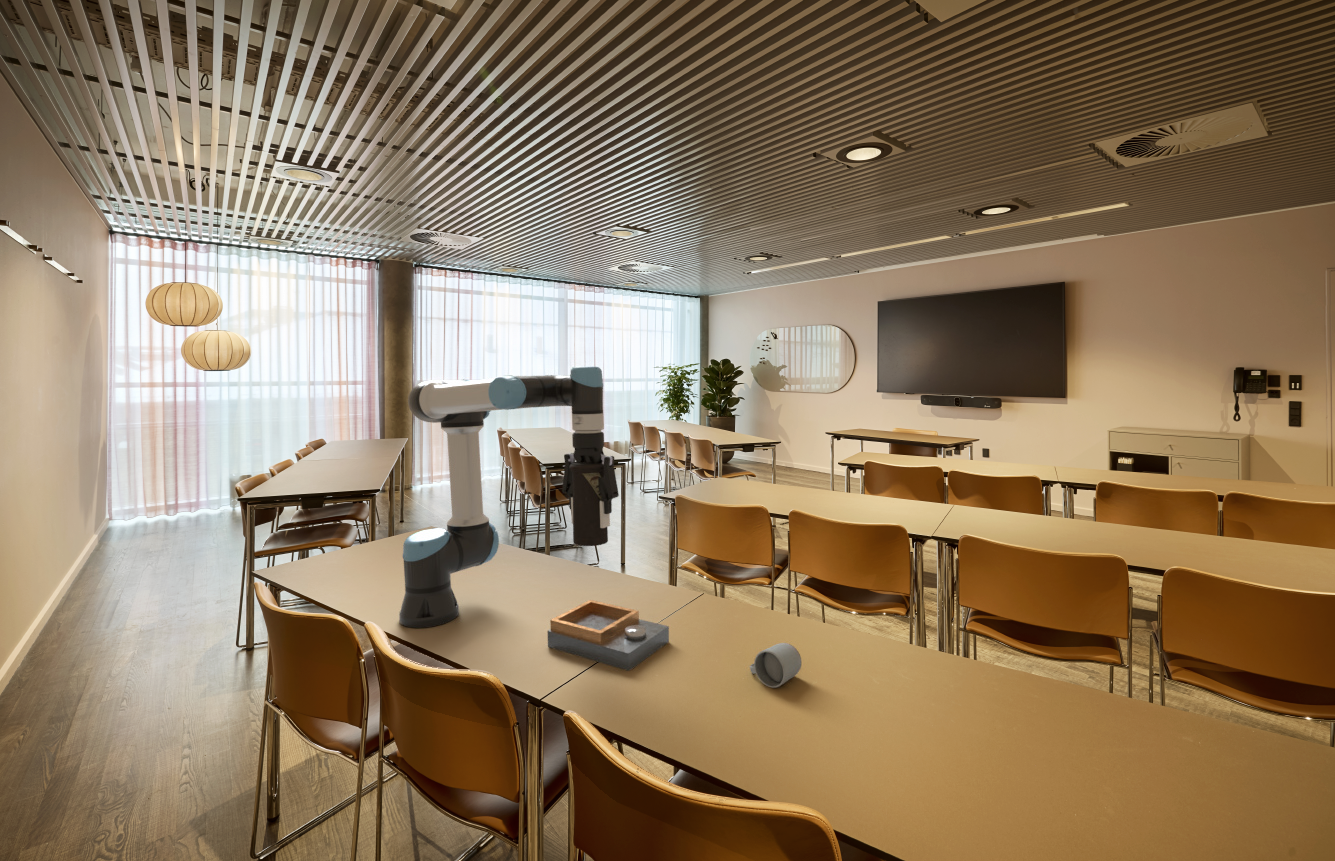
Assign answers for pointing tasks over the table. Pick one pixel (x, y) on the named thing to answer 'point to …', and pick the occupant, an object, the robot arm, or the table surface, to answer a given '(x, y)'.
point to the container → (587, 504)
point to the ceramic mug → (776, 664)
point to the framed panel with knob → (607, 634)
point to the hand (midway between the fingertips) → (590, 524)
